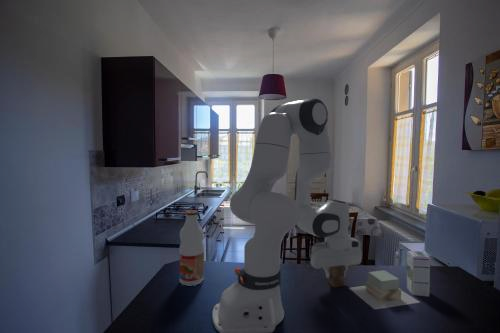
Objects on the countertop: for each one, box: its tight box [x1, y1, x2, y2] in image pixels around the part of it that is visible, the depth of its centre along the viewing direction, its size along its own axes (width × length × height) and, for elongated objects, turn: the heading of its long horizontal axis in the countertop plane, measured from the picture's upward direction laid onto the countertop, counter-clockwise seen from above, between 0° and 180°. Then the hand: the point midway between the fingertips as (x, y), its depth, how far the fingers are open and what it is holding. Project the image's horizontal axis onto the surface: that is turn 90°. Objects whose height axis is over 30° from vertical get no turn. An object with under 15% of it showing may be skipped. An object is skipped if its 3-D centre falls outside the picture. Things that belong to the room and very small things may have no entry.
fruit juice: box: [178, 209, 205, 286], centre depth 102 cm, size 9×9×28 cm
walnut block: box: [326, 266, 345, 288], centre depth 101 cm, size 4×4×8 cm
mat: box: [348, 285, 421, 310], centre depth 93 cm, size 18×14×1 cm
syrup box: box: [406, 250, 431, 297], centre depth 95 cm, size 6×6×14 cm
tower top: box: [367, 269, 400, 291], centre depth 93 cm, size 7×7×4 cm
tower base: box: [365, 280, 402, 302], centre depth 93 cm, size 8×8×4 cm
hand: (335, 276), depth 101 cm, fingers closed on walnut block, 4 cm apart
